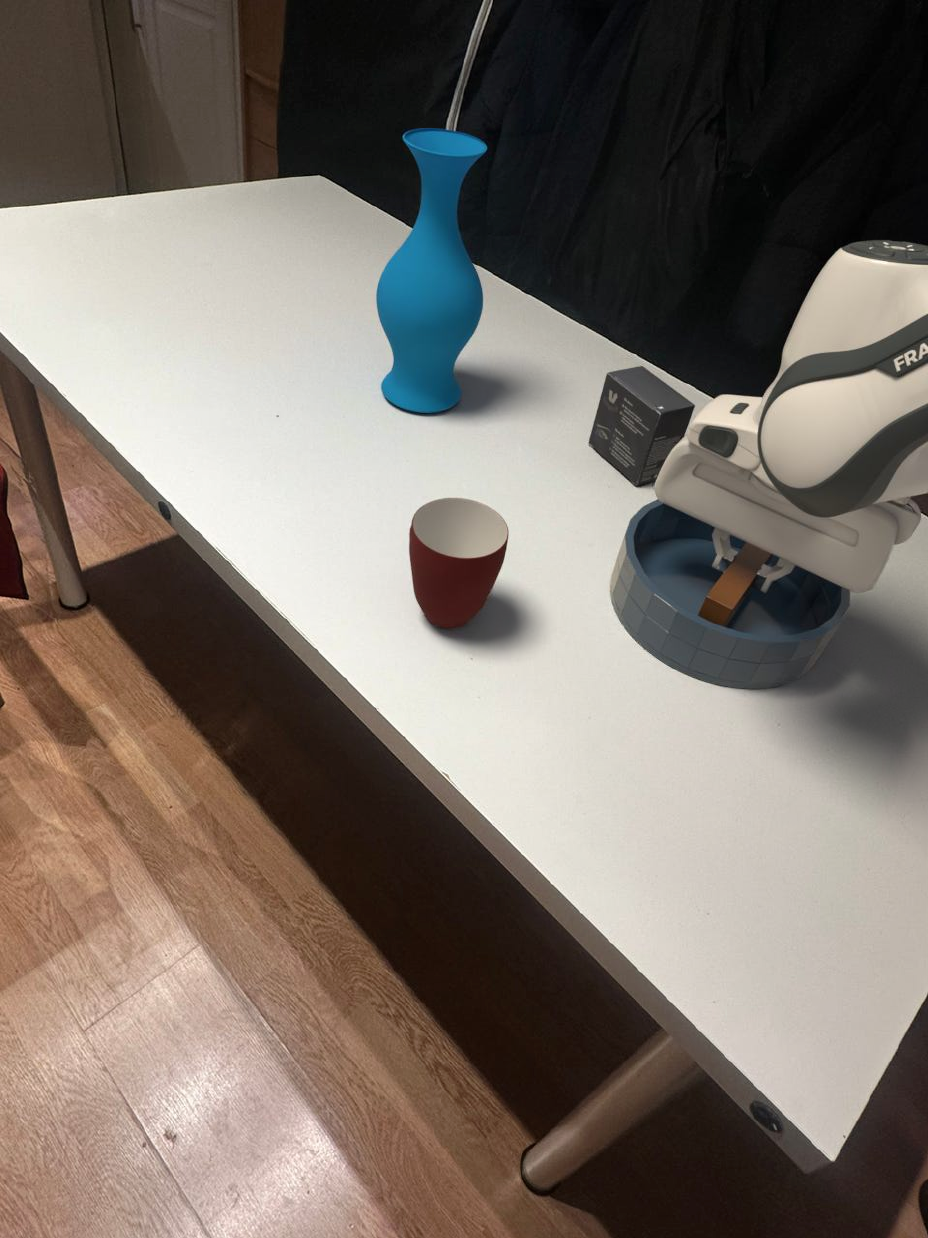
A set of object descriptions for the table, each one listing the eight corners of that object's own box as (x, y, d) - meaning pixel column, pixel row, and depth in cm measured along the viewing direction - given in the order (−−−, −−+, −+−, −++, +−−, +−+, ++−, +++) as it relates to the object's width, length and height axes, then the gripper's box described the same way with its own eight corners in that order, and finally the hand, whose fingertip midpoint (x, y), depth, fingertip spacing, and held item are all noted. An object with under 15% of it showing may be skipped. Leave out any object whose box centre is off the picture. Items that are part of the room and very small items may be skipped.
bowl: (847, 602, 82) (875, 557, 78) (780, 727, 69) (810, 681, 65) (663, 514, 89) (680, 468, 85) (571, 612, 76) (585, 563, 72)
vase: (473, 377, 106) (508, 134, 86) (464, 428, 97) (501, 169, 77) (381, 362, 106) (395, 115, 86) (363, 412, 97) (374, 148, 77)
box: (672, 477, 95) (698, 404, 88) (635, 487, 92) (659, 413, 86) (622, 435, 100) (643, 363, 93) (586, 444, 98) (605, 370, 91)
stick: (745, 551, 81) (757, 527, 79) (769, 562, 80) (781, 539, 78) (694, 620, 73) (706, 596, 71) (720, 634, 72) (732, 609, 70)
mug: (368, 589, 75) (372, 501, 68) (435, 558, 79) (446, 472, 72) (441, 660, 70) (455, 572, 63) (509, 622, 74) (529, 536, 67)
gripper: (940, 485, 65) (859, 611, 74) (702, 388, 71) (656, 514, 81) (923, 522, 61) (840, 650, 70) (673, 415, 67) (628, 545, 77)
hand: (740, 576), depth 76 cm, fingers closed on stick, 2 cm apart
